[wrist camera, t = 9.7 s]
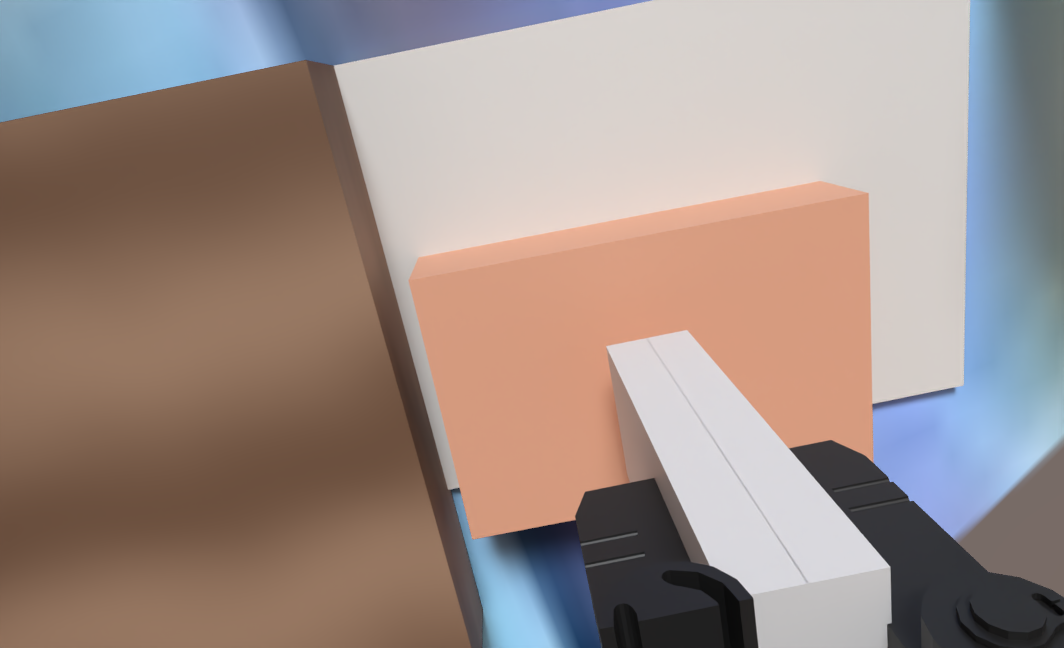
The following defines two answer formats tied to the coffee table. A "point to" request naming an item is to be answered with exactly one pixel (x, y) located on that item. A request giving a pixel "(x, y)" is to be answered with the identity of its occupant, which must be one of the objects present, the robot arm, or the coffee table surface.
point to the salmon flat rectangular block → (636, 313)
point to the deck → (212, 385)
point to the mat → (685, 144)
